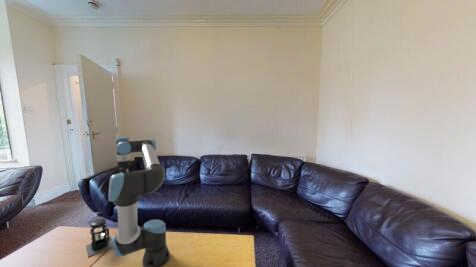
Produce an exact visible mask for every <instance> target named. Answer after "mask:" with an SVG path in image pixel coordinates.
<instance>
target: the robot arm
mask: <svg viewBox="0 0 476 267" xmlns="http://www.w3.org/2000/svg"><path fill="white" fill-rule="evenodd" d="M115 145H116V146H115V148H116V162H117V166H116V167H118V168H119V171H118V173H115V174H112V175H111V176H110V178H109V182H108V183H109V185H108V201H109V202H112V203H113V204H114V205H115V206H116V210H117V223H118V226H117V227H118V230H117V232H116V233H115V234H114V235H113V237H112V240H113V252H114V255H115V257H117V258H120V257H121V258H122V257H125V256H127V255H130V254H133V253H136V252H138V251H141V250H144V253H143V256H142V267H163V266H164V265H165V264H166V263H168V262H169V260H170V257H171V253H170V250H169V248H168V245H167V232H166V231H167V228H166V227H167V226H166V223H165V222H164V221H163V220H160V219H151V220H148V221H146V222H145V223H144V224H143V226H141V227H140V225H138V202H139V201H140V199H141V196H145V195H149V194H152V193H154V192H156V191H157V190H158V189H159V188H161V186H162V185H163V182H164V181H165V179H166V178H165V177H166V170H165V168H164V166H163V165H162V164H161V163H160V161H159V158H158V155H157V152H156V149H157V143H156V140H155V139H140V140H130V138H129V136H123V137H122V136H121V137H116V139H115ZM134 153H135V154H136V153H140V154H141V156H142V160H143V161H142V162H143V164H144V168H145V169H142V170H135V171H134V170H133V171H130V170H131V169H130V168H128V167H130V166H131V156H132V154H134Z"/></svg>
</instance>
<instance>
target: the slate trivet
mask: <svg viewBox="0 0 476 267" xmlns="http://www.w3.org/2000/svg"><path fill="white" fill-rule="evenodd" d="M109 237H110V241H109V242H108V245H107V246H106V247H104V248H103V249H100V250H96V251H93V250H91V243H89V244H86V245H85V247H86V253H87V258H91V257H93V256H95V255H97V254H100V253H104V252H106V251H108V250H111V249H112V248H113V237H112V236H109ZM102 243H104V242H100V243H98V244H96V245H100V244H102ZM113 249H114V248H113Z"/></svg>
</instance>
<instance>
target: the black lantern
mask: <svg viewBox="0 0 476 267" xmlns="http://www.w3.org/2000/svg"><path fill="white" fill-rule="evenodd" d="M101 214H102V211H97V212H93V216H97V217H96V219H94V220H92V221H91V222H89V226H90V228H91V229H90V231H89V234H90V235H91V238H90V240H91V243H90V244H91V250H93V251H96V250H100V249H103V248H104V247H106V246H107V245H108V242H109V241H110V237H111V236H110V228H109V227H108V226H107V225H106V224H107V218H105V217H101V218H99V215H101ZM100 228H102V230H100ZM95 229H98V231H96V232H95ZM100 242H104V243H102V244H100V245H96V244H98V243H100Z"/></svg>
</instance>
